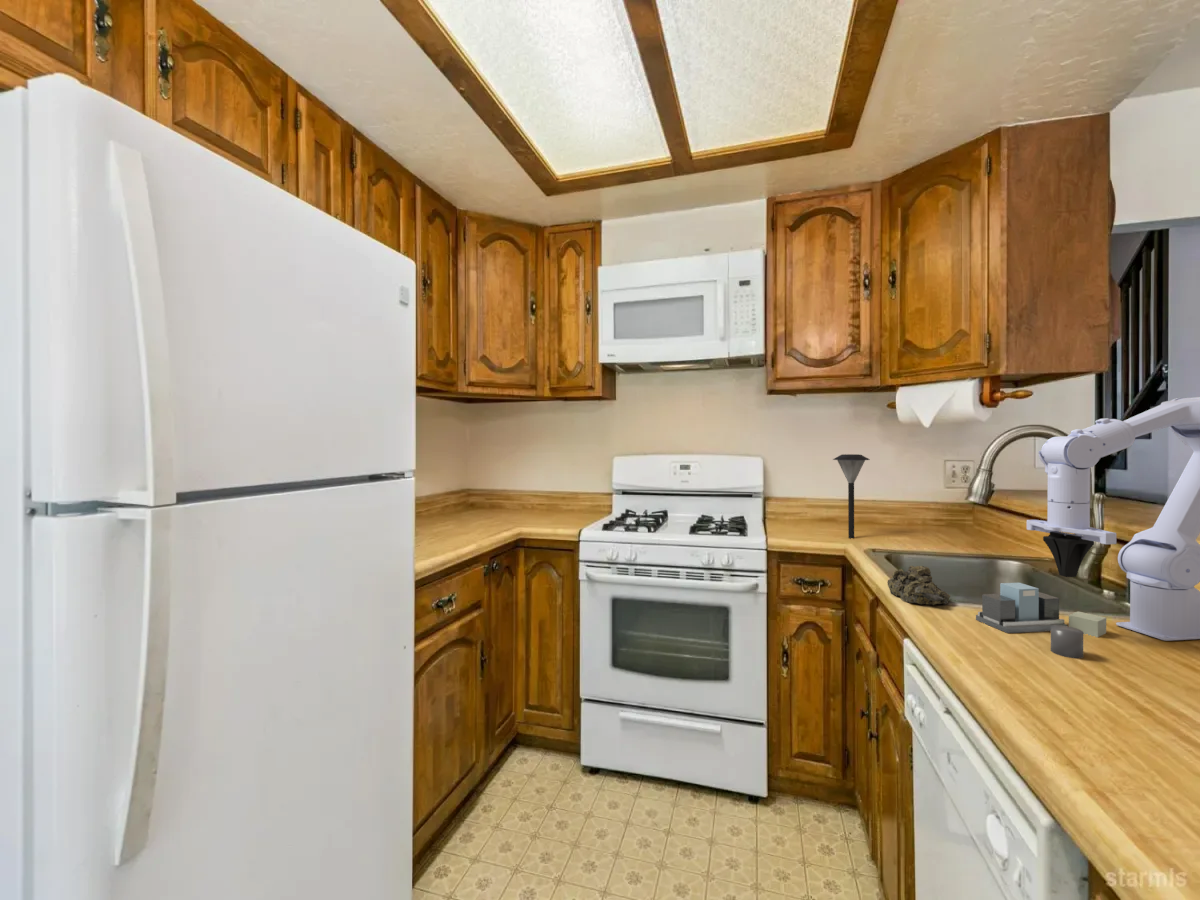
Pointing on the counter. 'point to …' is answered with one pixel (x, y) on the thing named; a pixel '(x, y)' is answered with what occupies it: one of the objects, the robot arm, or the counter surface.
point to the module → (1022, 600)
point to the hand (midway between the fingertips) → (1067, 576)
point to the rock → (916, 586)
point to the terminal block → (1088, 623)
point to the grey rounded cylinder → (1067, 641)
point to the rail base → (1002, 614)
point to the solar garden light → (851, 482)
